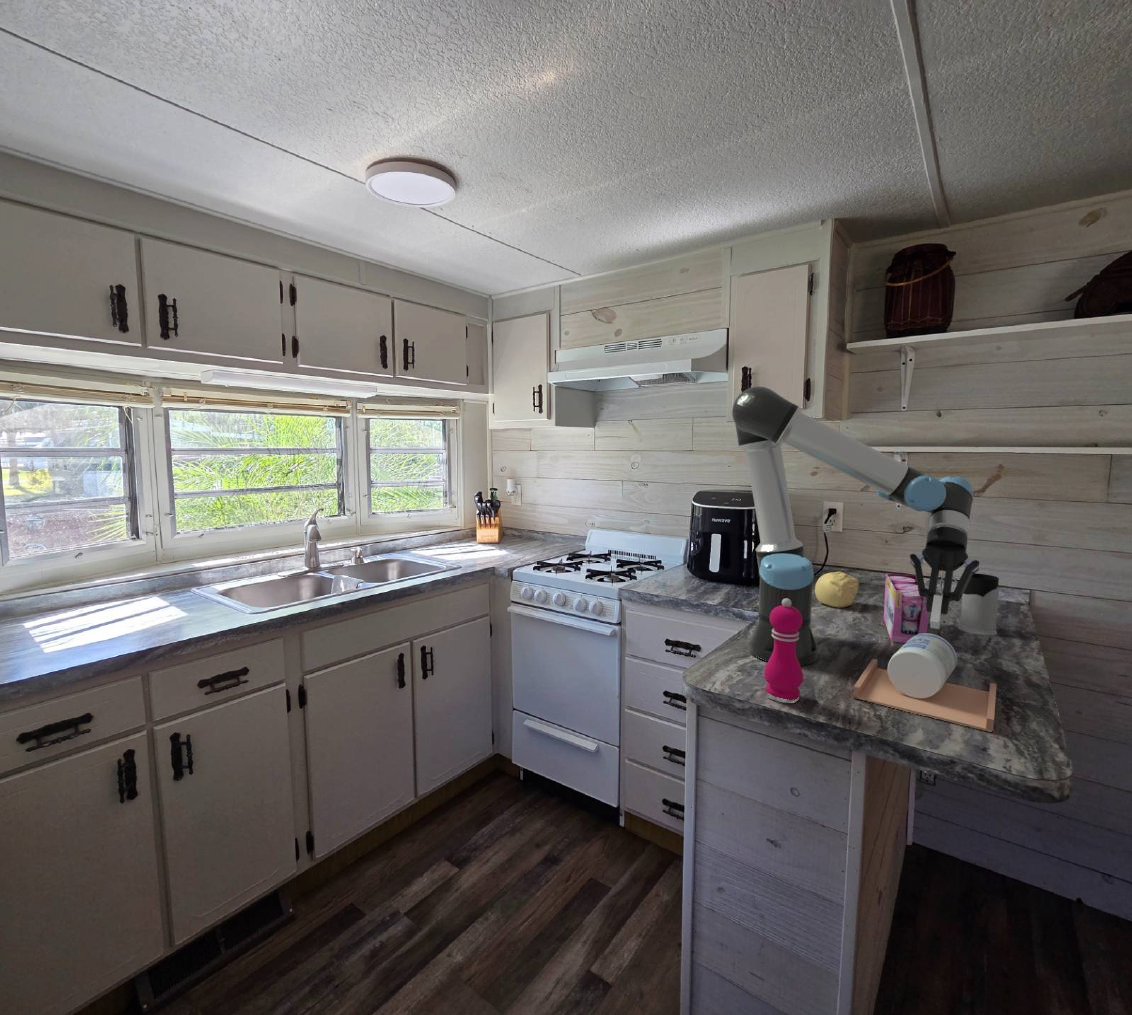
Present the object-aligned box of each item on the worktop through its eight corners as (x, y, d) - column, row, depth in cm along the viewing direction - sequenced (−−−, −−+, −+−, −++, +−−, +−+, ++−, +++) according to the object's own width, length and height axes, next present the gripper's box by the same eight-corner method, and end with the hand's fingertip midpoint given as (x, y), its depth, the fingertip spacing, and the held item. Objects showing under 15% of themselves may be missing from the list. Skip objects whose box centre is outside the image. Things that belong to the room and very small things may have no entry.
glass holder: (989, 637, 147) (993, 581, 146) (930, 623, 159) (933, 571, 157) (1002, 631, 152) (1007, 577, 150) (944, 618, 164) (948, 568, 162)
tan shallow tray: (872, 669, 125) (872, 658, 125) (995, 696, 112) (996, 684, 112) (853, 698, 111) (853, 686, 110) (992, 733, 97) (994, 719, 97)
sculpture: (844, 612, 170) (846, 577, 169) (807, 603, 180) (809, 570, 179) (863, 606, 177) (865, 572, 176) (826, 598, 186) (828, 566, 185)
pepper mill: (802, 707, 107) (807, 605, 105) (762, 701, 109) (766, 601, 107) (801, 692, 113) (806, 595, 111) (764, 687, 116) (767, 592, 114)
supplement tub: (931, 623, 119) (914, 640, 108) (969, 661, 115) (956, 682, 104) (894, 648, 124) (875, 667, 114) (929, 685, 120) (913, 708, 109)
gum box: (928, 648, 139) (931, 594, 138) (891, 643, 143) (894, 591, 141) (914, 621, 161) (917, 575, 160) (882, 618, 164) (885, 572, 163)
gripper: (982, 548, 125) (973, 640, 114) (914, 542, 133) (899, 628, 122) (983, 527, 121) (974, 621, 109) (913, 522, 129) (897, 609, 117)
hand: (934, 625), depth 116 cm, fingers closed
